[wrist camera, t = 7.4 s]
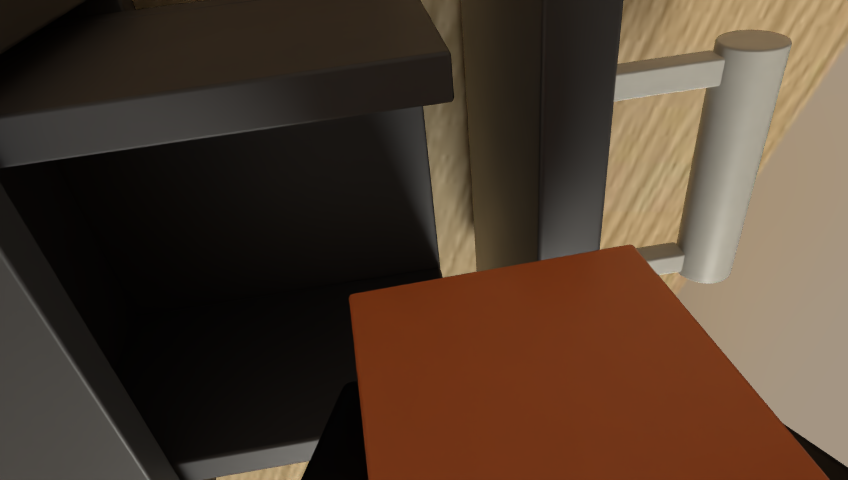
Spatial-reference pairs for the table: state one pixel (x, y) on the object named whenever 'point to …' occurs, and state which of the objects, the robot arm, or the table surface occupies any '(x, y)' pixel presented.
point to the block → (557, 380)
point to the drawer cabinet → (58, 341)
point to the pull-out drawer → (328, 182)
